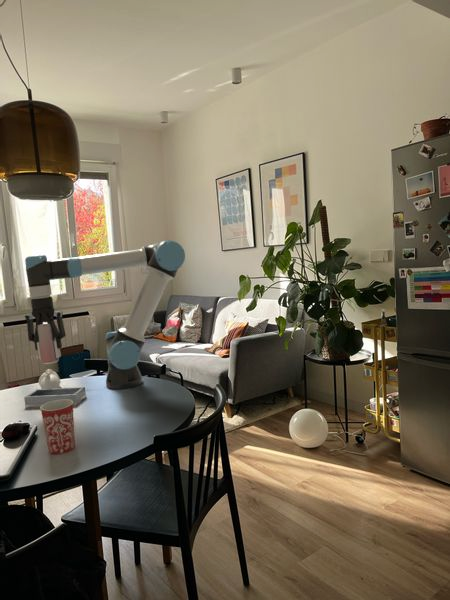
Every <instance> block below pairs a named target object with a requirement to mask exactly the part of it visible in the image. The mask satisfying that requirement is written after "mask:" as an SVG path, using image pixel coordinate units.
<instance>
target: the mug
mask: <svg viewBox="0 0 450 600" xmlns="http://www.w3.org/2000/svg"><path fill="white" fill-rule="evenodd" d="M39 410H40V412H41V417H42V422H43V427H44V433H45V439H46V443H47V444H46V445H47V449H48V452H49V453H50V454H52V455H61V454H65V453H68V452H69V453H70V452H71V451H72V450H73V449H75V446H76V445H75V444H76V441H75V439H76V438H75V423H74V406H73V401H72V400H69V399H61V400H55V401H51V402H47V403H45V404H43V405H42V406H41V407H39Z"/></svg>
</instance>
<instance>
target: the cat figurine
mask: <svg viewBox="0 0 450 600" xmlns="http://www.w3.org/2000/svg"><path fill="white" fill-rule="evenodd" d="M61 383H62V382H61V378H60V376H59V375H58V373H57V372H55V370H54V369H52V368H51V369H50V368H48V369H46V370H45V371H44V372H43V373H42V374H41V375H40V376H39V379H38V384H39V386H40V389H55V388H62V386H61Z"/></svg>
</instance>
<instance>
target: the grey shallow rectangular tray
mask: <svg viewBox="0 0 450 600" xmlns="http://www.w3.org/2000/svg"><path fill="white" fill-rule="evenodd" d="M86 393H87V392H86V387H85V386H79V387H77V386H76V387H61V388H55V389H41V388H39V389H35V390H33V391H32V392H30V393H28V394H27V395H26V396H24V407H25V408H26V409H28V408H40V407H41V406H42V405H43V404H45V403H47V402H51V401H55V400H61V399H69V400H72V401H73V407H74V406H78V405H79V404H80V403H81V402H82V401H83V400H85V398H87V394H86Z"/></svg>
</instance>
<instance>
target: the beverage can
mask: <svg viewBox="0 0 450 600" xmlns="http://www.w3.org/2000/svg"><path fill="white" fill-rule="evenodd" d="M37 332H38V339H39V345H40V352H41V359H40V360H41V363H42V364H43V365H50V364H51V365H52V364H55V363H58V362H59V359H60V357H59V358H56V353H55V346H54V341H55V340H56V339H55V337H54V335H53V333H52V328H51V325H50V324H48V323H47V322H43V323H42V324H40V325H37Z"/></svg>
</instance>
